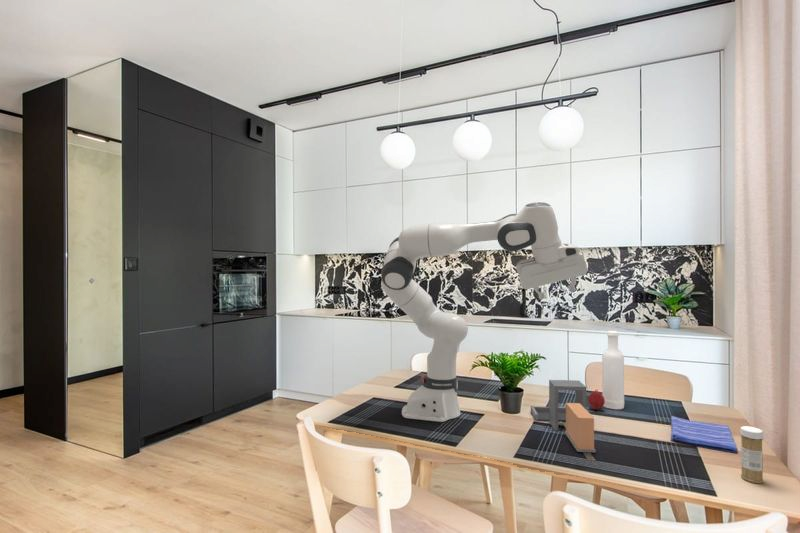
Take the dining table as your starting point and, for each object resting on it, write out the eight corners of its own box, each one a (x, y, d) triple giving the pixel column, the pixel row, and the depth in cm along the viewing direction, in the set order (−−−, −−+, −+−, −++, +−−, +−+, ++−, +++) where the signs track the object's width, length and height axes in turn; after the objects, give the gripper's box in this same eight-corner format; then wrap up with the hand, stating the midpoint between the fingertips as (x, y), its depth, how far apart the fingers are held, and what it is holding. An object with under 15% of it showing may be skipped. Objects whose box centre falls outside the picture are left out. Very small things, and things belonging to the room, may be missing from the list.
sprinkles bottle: (762, 479, 112) (762, 428, 112) (763, 486, 109) (763, 433, 109) (740, 473, 115) (740, 424, 115) (740, 480, 111) (740, 429, 111)
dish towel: (670, 443, 136) (670, 435, 136) (670, 420, 156) (670, 412, 156) (738, 456, 127) (738, 447, 126) (729, 430, 147) (729, 421, 147)
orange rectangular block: (577, 451, 128) (577, 418, 128) (564, 433, 143) (564, 402, 143) (595, 452, 128) (595, 418, 128) (580, 433, 142) (580, 403, 142)
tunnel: (554, 430, 146) (554, 386, 146) (549, 421, 154) (549, 379, 154) (586, 431, 144) (586, 387, 144) (579, 422, 152) (579, 380, 152)
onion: (606, 412, 163) (606, 392, 163) (590, 411, 164) (590, 391, 164) (602, 407, 168) (602, 387, 168) (586, 406, 169) (586, 386, 169)
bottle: (617, 411, 164) (617, 333, 164) (598, 405, 171) (598, 331, 171) (628, 406, 169) (627, 331, 169) (608, 401, 176) (608, 329, 176)
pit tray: (535, 420, 155) (535, 414, 155) (530, 412, 164) (530, 406, 164) (592, 422, 152) (592, 416, 152) (584, 414, 161) (584, 407, 161)
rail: (588, 460, 123) (588, 459, 123) (561, 422, 153) (561, 421, 153) (595, 460, 123) (595, 460, 123) (567, 422, 153) (567, 421, 153)
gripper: (516, 264, 130) (526, 306, 132) (584, 246, 127) (593, 289, 130) (512, 259, 136) (522, 299, 138) (577, 243, 133) (585, 284, 136)
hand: (557, 294), depth 134 cm, fingers open, 8 cm apart
